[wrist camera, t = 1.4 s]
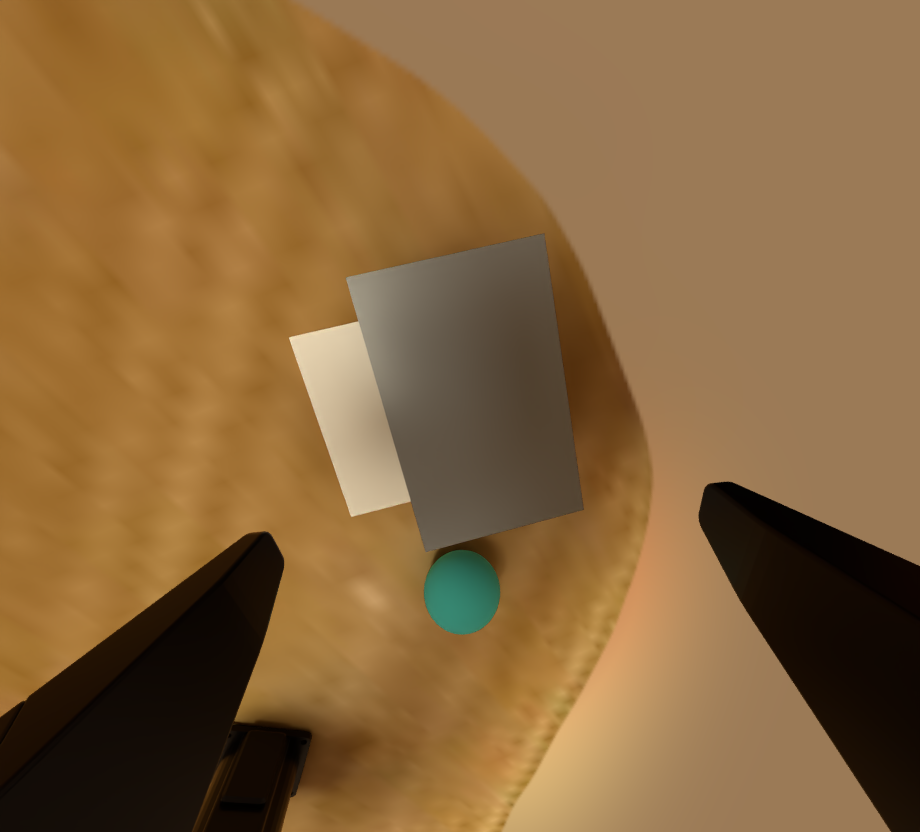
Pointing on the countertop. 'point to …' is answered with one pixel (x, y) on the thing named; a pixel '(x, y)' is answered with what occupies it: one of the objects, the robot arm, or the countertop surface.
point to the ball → (462, 592)
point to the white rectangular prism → (351, 417)
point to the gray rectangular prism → (473, 388)
